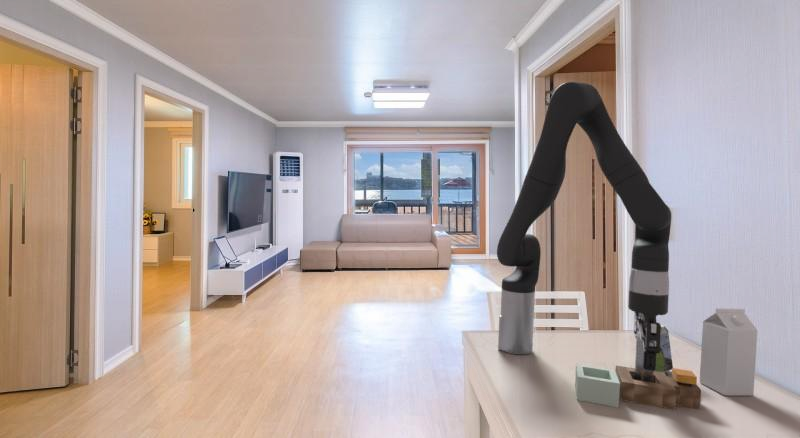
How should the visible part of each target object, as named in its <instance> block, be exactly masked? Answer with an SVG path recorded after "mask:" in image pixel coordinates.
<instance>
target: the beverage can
mask: <svg viewBox="0 0 800 438" xmlns="http://www.w3.org/2000/svg"><path fill="white" fill-rule="evenodd" d="M658 323H659V324H660V325H661V332H660V353H657V354H656V369H655V371H656V372H662V373H665V374H666V373H668V372H670V371H672V368H674V366H673V358H672V350H671V341H670V333H669V330H668V329H667V327H666V325H665V324H664V323H660V322H658Z"/></svg>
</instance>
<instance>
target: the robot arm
mask: <svg viewBox="0 0 800 438" xmlns="http://www.w3.org/2000/svg"><path fill="white" fill-rule="evenodd" d="M544 117H545V118H544V121H543V125H542V130H541V133H540V137H539V139H538V141H537V145H536V148H535V150H534V153H533V156H532V159H531V161H530V165H529V166H528V169H527V172H526V174H525V176H524V180H523V183H522V186H521V189H520V192H519V194H518V196H517V197H518V198H517V200H516V202H515V206H514V207H513V210H512V212H511V215H510V217H509V219H508V221H507V223H506V225H505V227H504V229H503V230H502V233H501V235H500V237H499V240H498V243H497V246H496V247H497V248H496V257H497V260H498V261H499V263H500V264H501V265H502V266H505V267H515V269H514V271H513V272H512V273H510V274H509V275H507V276H505V277H504V278H503V279H502V280H501V293H500V294H501V297H500V315H499V319H498V338H497V339H498V340H497V350H499V351H503V352H506V353H509V354H513V355H528V354H531V353H532V352H533V346H534V343H533V342H534V341H533V340H534V320H535V300H536V299H535V298H536V286H537V284H538V281H539V274H540V266H541V265H540V264H541V254H542V251H541V244H540V241H539V239H538V238H537V236H535V235H534V234H531V233H527V232H528V231H529V229H530V227H531V226H532V225H533V223H534V222H535V221H536V220H537V219H539V218H540V216H542V214H544V213H545V212H546V211H547V210H548V209H549V208H550V207H551V206H552V205H553V203H554V202H555V200H556V199H557V197H558V195H559V192H560V190H561V188H562V186H563V183H564V180H565V177H566V176H565V175H566V170H567V168H566V167H567V157H566V156H567V147H568V143H569V142H570V141H569V140H570V138H571V136H572V133H573V131H574V129H575V127H576V124H578V126H579V127H580V128H581V129H582V130H583V131H584V132H585V134H586V135H587V137H588V138H589V140H590V142H591V144H592V146H593V149H594V152H595V157H596V159H597V162H598V165H599V168H600V170H601V171H602V173H603V175H604V177H605V178H606V180H607V181H608V183H609V184H610V186H611V187H612V190H614V192H615V193H616V194H617V196H619V198H620V200H621V202H622V205H623V206H624V208H625V210H626V211H627V213H628V215H629V217H630V218H631V220H632V221H633V223H634V225H635V228H634V244H633V246H632V250H631V266H630V267H631V268H630V274H629V279H628V280H629V281H628V282H629V283H628V285H629V286H628V301H627V302H628V303H627V308H628V309H629V310H630V311H632V312H634V314H635V315H634V328H633V329H634V330H633V334H634V338H635V340H636V342H637V331H638V330H639V334H640V341H641V342H643V351H644V354H643V368H644V369H645V370H650V371H655V369H656V354H657V353H660V332H661V325H660V324H661V323H660V322H658V321H657V316H665V315H667V314H668V313H669V297H670V296H669V295H670V276H669V268H670V266H669V264H670V250H669V242H670V235H671V226H672V211H671V209H670V206H668V205H667V204H666V202H665V201H664V200H663V198H662V197H661V196H660V195H659V193H658V192H657V191H656V190H655V188H654V187H653V186H652V185H651V183H650V181H649V180H650V179H649V178H648V177H647V176H648V175H647V174H646V173H645V171H644V170H643V168H642V167H641V165H640V164H639V162H638V161H637V159H635V157H634V156H633V154H632V153H631V151H630V149H629V148H628V147H627V145H626V144H625V142H624V140H623V139H622V137H621V135H620V134H619V132H618V130H617V129H616V126H615V124H614V122H613V121H612V119H611V117H610V115H609V113H608V110H607V108H606V105H605V103H604V101H603V99H602V97H601V95H600V93H599V91H598V89H597V88H596V87H595V86H594V85H592V84H589V83H587V82H577V81H567V82H564V83H562V84H560V85H559V86H557V87H556V88H555V90H554V91H553V93H552V94H551V96H550V99H549V102H548V105H547V110H546V113H545V116H544ZM659 323H660V324H659ZM636 342H635V343H636ZM649 343H653V346H654V347H653V346H649Z"/></svg>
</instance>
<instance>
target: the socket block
mask: <svg viewBox="0 0 800 438" xmlns="http://www.w3.org/2000/svg"><path fill="white" fill-rule="evenodd" d="M614 370H615V372H616V375H617V377H618V380H619V382H620V391H619V399H620V400H621V401H625V402H630V403H635V404H643V405H647V406H653V407H659V408H665V409H669V410H670V409H671V410H676V406H679V407H686V408H691V409H696V410H697V409H698V410H701V401H702V390H701V388H700V387H699V386H698V384H696V385H695V384H689V386H685V385H679V384H678V382H676V380H675V379H674V377H672V376H671V377H669V376H668V375H666V372H665V373H662V372H656V371H654V378H653V383H652V382H645V381H639V380H634V378H635V367H627V366H621V365H615V369H614Z"/></svg>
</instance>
